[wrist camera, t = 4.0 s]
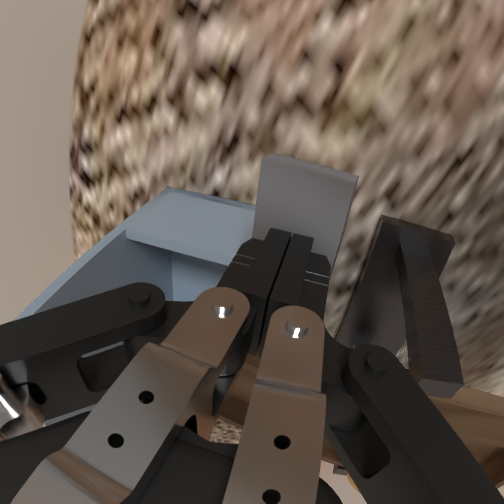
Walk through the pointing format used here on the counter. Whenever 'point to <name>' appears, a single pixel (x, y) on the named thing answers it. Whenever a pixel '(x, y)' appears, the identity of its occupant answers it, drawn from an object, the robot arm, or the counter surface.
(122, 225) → the grey-blue open bin
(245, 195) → the counter surface
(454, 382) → the lever stand
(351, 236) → the counter surface
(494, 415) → the lever
